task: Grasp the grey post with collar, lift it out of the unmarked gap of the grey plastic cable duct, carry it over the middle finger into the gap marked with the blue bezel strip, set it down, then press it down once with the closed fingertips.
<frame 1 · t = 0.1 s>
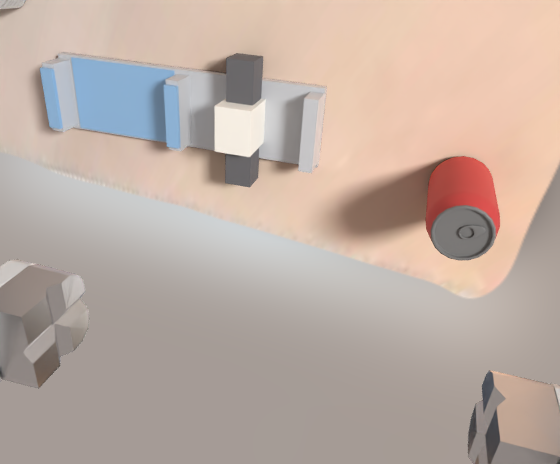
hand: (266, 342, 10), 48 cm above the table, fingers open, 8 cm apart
grey post with collar: (247, 118, 59), point 1 cm above the table, touching duct
beer can: (459, 182, 57), on the table
duct: (188, 107, 61), on the table
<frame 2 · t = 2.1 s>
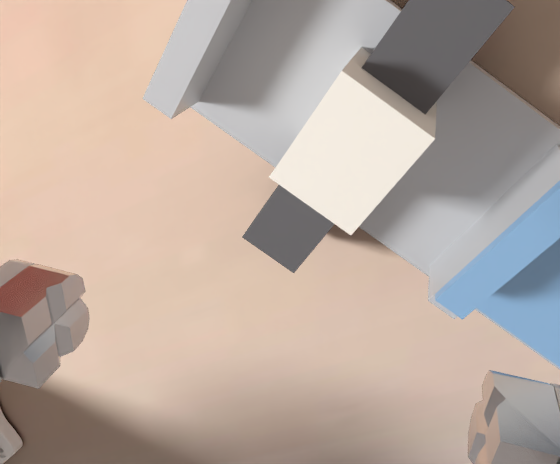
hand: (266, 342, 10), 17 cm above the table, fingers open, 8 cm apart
grey post with collar: (364, 121, 23), point 1 cm above the table, touching duct
duct: (498, 210, 25), on the table
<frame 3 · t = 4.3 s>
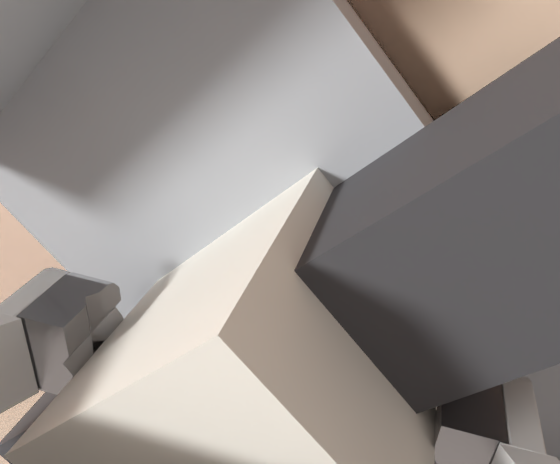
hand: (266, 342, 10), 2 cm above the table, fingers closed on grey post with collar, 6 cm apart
grey post with collar: (287, 298, 11), point 1 cm above the table, touching duct, gripper
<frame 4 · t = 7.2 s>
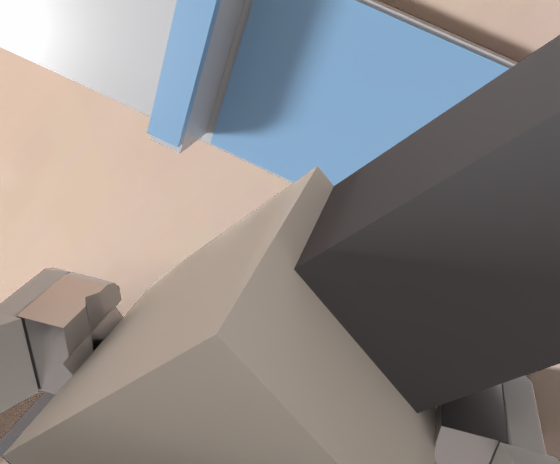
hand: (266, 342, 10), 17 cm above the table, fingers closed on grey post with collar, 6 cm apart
grey post with collar: (287, 297, 11), point 15 cm above the table, touching gripper
duct: (222, 46, 25), on the table
when the fingers open (4 cm above the table, at t = 10.4 s): grey post with collar drops 1 cm, resting on duct.
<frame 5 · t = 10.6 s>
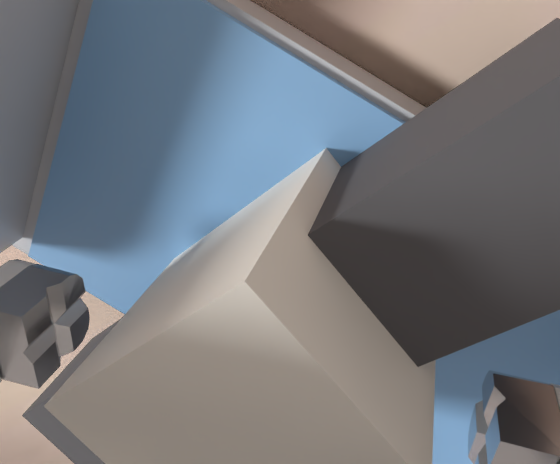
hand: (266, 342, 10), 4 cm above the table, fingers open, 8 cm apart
grey post with collar: (297, 272, 12), point 1 cm above the table, touching duct
duct: (51, 92, 13), on the table
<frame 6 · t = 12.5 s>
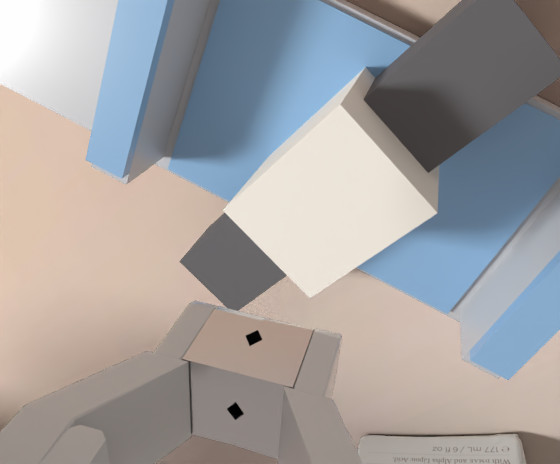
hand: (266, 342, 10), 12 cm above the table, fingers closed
grey post with collar: (350, 154, 19), point 1 cm above the table, touching duct
duct: (183, 56, 21), on the table
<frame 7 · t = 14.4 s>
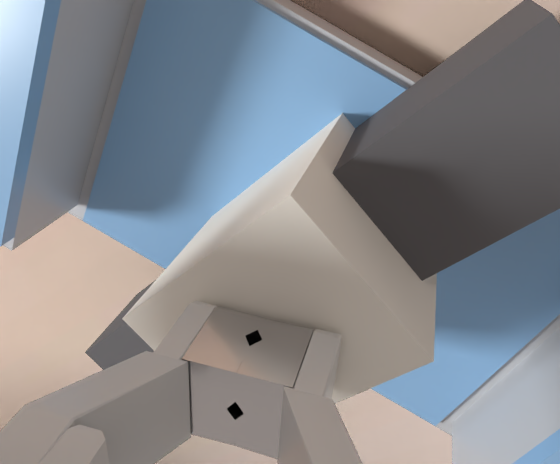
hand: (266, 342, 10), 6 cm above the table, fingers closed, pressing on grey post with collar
grey post with collar: (318, 223, 14), point 1 cm above the table, touching duct, gripper
duct: (104, 76, 15), on the table
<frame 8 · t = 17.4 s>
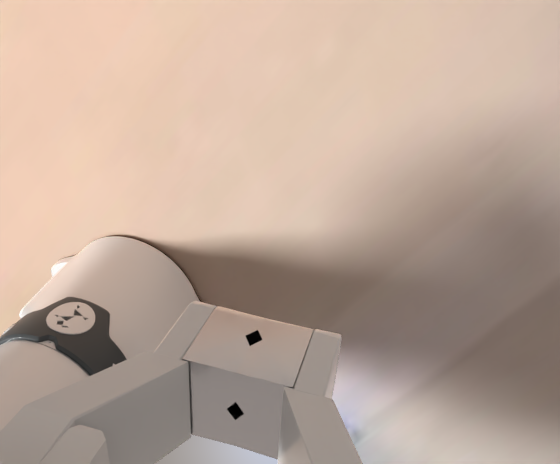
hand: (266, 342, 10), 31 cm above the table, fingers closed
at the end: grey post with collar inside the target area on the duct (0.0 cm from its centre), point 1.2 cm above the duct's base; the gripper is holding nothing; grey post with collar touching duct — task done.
